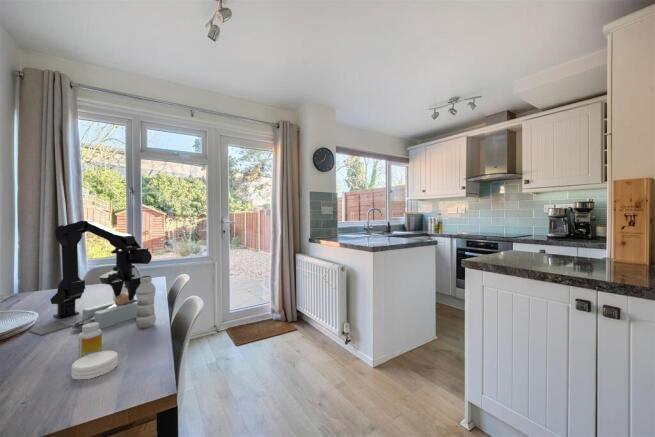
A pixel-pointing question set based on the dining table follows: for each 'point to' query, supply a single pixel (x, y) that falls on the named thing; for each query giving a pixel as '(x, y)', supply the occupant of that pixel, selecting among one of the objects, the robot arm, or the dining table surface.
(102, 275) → the robot arm
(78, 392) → the dining table surface
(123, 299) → the tile
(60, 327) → the pad
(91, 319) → the lever
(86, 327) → the supplement bottle
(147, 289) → the plastic bottle
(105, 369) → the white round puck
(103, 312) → the grey-green channel block
